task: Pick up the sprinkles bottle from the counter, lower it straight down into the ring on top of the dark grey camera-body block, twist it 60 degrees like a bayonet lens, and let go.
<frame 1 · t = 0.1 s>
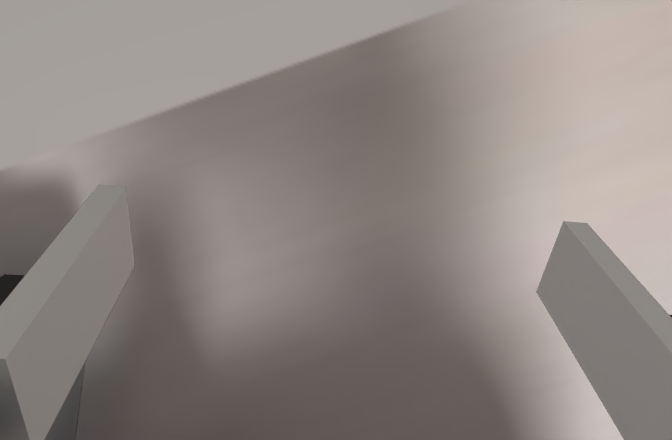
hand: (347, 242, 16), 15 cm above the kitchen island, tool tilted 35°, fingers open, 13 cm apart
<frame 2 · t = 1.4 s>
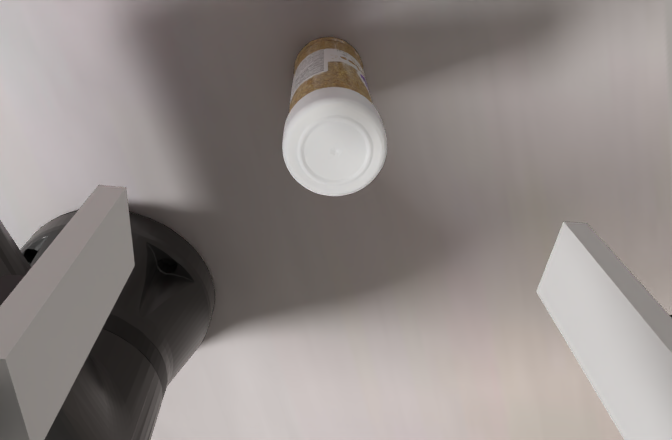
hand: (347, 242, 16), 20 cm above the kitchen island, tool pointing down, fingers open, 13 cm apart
sprinkles bottle: (327, 70, 33), on the kitchen island
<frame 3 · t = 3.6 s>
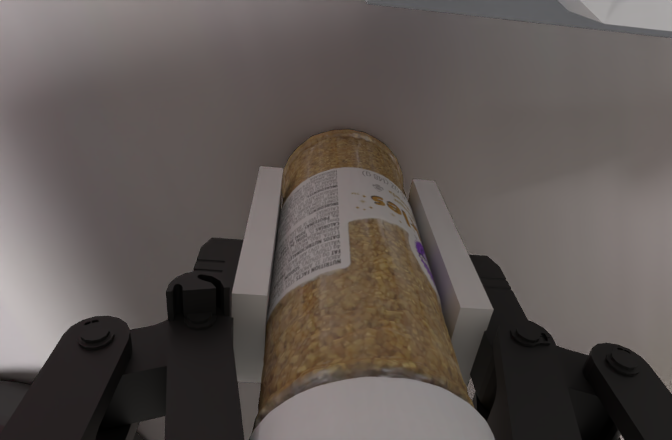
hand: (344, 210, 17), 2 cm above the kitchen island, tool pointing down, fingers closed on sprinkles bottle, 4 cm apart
sprinkles bottle: (340, 179, 19), on the kitchen island, touching gripper
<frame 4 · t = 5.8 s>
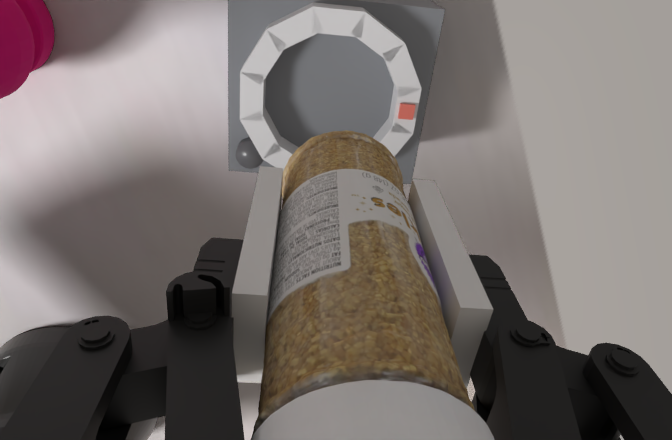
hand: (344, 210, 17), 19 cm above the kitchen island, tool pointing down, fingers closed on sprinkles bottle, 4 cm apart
sprinkles bottle: (340, 180, 19), point 16 cm above the kitchen island, touching gripper
pepper mill: (3, 21, 31), on the kitchen island
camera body: (326, 68, 33), on the kitchen island
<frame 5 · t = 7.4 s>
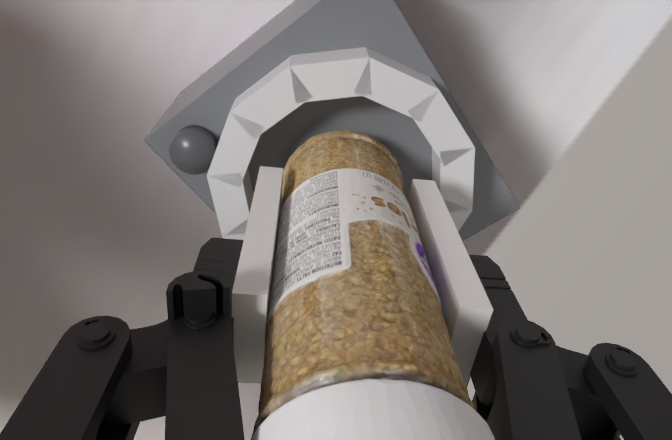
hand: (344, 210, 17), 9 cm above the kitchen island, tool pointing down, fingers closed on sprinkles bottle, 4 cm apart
sprinkles bottle: (339, 179, 19), point 6 cm above the kitchen island, touching gripper
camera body: (336, 122, 25), on the kitchen island
when the fingers open (9 cm above the kitchen island, at t = 8.4 s): sprinkles bottle stays where it is, resting on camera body.
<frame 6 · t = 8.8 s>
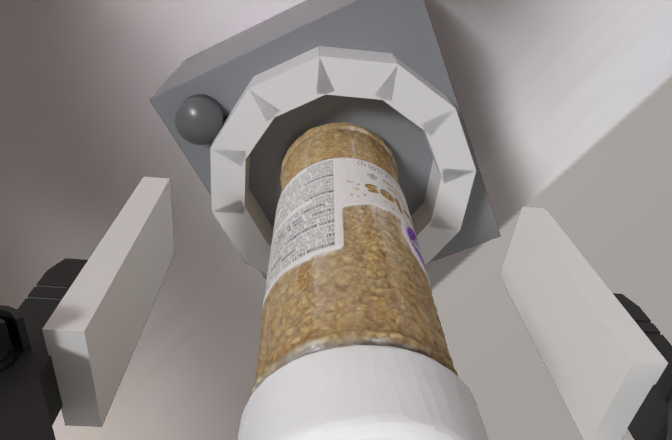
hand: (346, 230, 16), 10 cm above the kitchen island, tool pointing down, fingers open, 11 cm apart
sprinkles bottle: (337, 171, 20), point 6 cm above the kitchen island, touching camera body
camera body: (335, 121, 25), on the kitchen island
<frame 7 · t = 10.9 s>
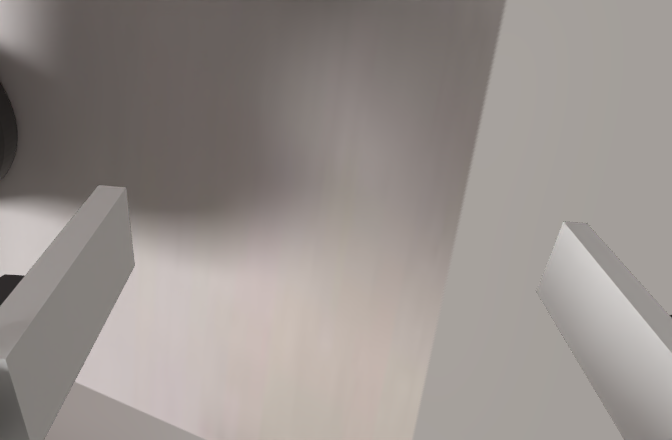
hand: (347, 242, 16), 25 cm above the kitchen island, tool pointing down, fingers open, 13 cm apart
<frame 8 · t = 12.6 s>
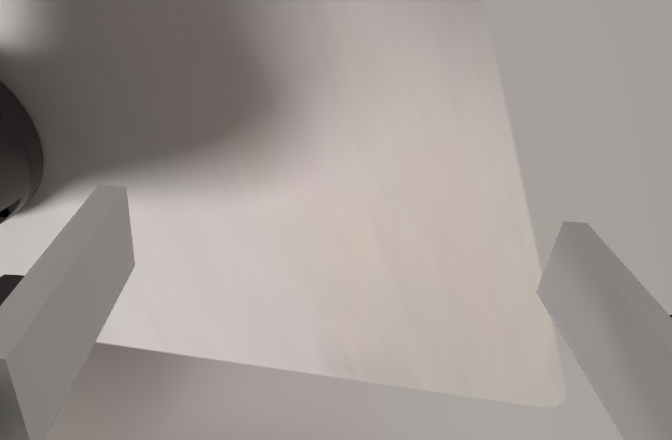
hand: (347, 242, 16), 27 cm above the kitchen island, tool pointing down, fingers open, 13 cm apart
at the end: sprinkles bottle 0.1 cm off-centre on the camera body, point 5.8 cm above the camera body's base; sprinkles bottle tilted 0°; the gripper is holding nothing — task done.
